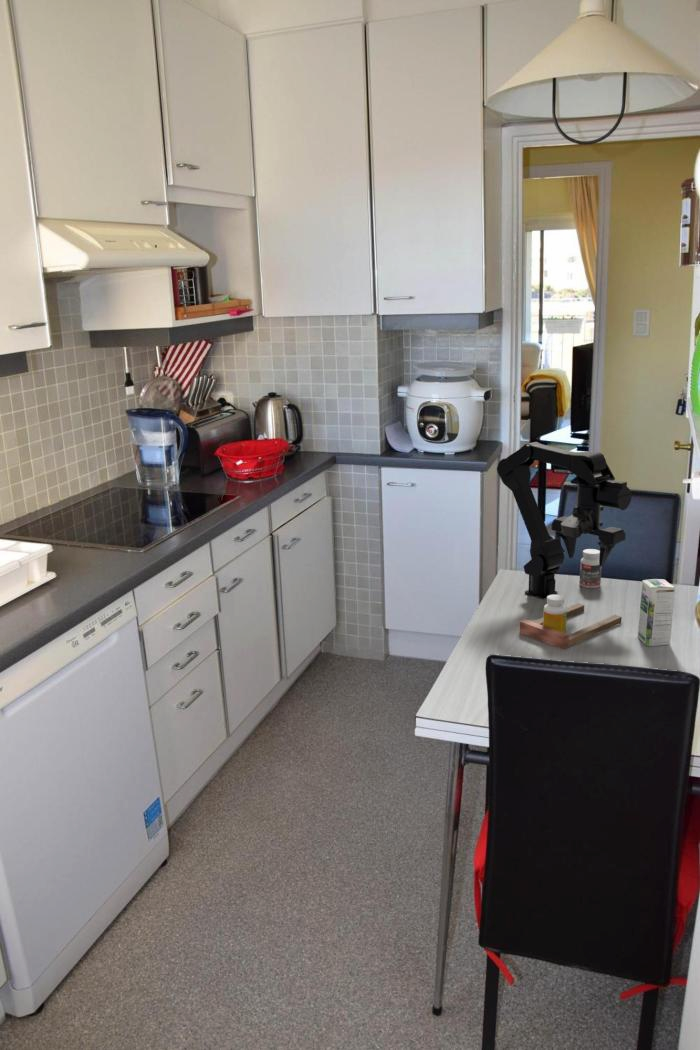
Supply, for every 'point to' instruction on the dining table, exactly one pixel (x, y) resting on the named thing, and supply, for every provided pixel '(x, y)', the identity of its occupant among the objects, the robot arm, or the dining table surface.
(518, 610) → the dining table surface
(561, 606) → the supplement bottle
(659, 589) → the syrup box
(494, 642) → the dining table surface
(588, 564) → the pill bottle
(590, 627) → the frame
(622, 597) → the dining table surface
